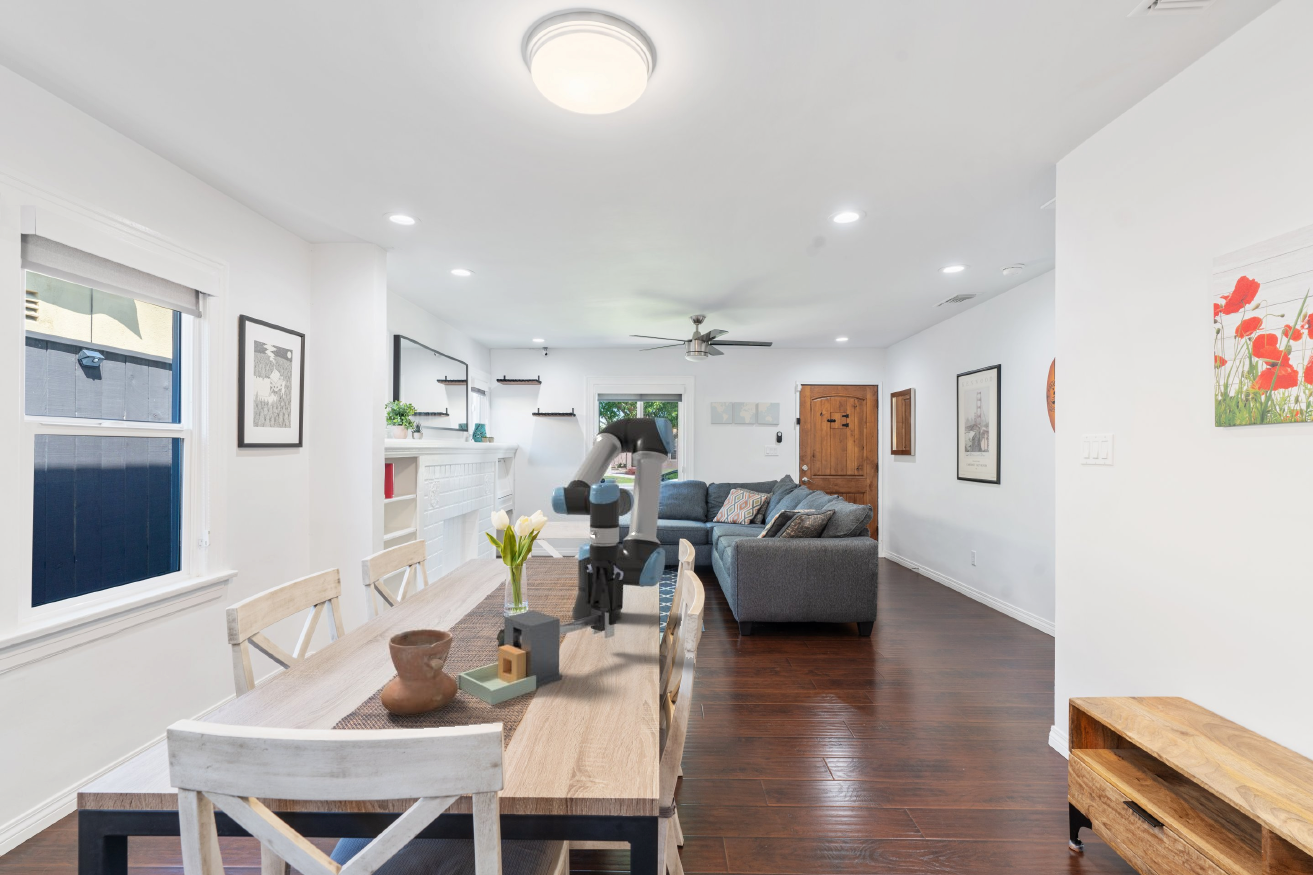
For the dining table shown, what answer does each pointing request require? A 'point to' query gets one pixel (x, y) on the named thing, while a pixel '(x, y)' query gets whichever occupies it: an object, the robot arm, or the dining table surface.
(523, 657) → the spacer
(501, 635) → the stone
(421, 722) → the dining table surface
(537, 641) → the bearing block
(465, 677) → the tray
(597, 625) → the shaft
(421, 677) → the ceramic jug
